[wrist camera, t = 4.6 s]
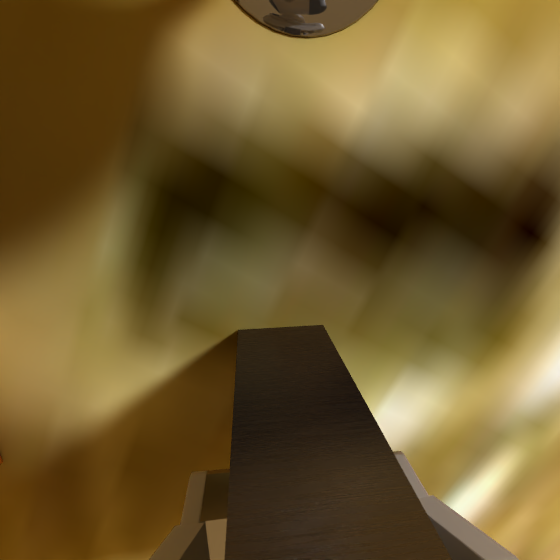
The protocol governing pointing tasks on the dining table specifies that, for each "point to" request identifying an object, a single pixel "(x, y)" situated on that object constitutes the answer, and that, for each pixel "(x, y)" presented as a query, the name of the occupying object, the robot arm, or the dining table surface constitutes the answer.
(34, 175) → the dining table surface
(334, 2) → the wine glass
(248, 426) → the dark brown upright block
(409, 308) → the dining table surface
